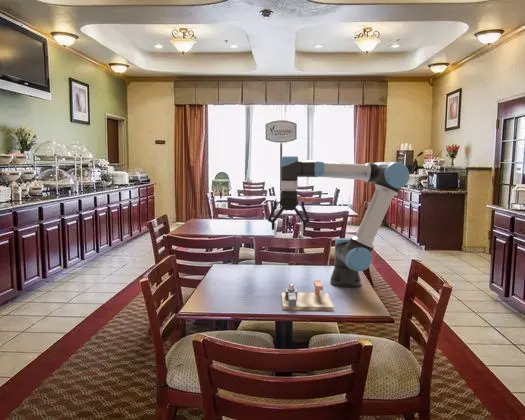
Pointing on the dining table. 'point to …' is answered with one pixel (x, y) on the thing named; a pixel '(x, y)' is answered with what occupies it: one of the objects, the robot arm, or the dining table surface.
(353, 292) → the dining table surface
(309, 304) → the board
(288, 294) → the link
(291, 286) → the pintle
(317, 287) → the keeper
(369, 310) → the dining table surface
